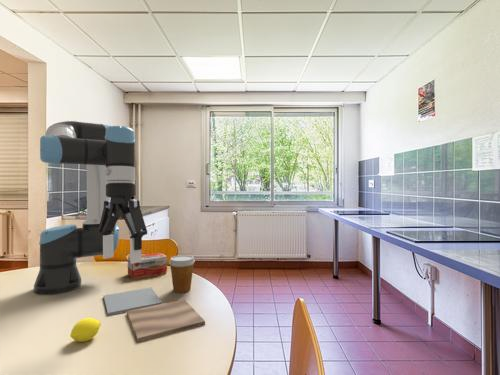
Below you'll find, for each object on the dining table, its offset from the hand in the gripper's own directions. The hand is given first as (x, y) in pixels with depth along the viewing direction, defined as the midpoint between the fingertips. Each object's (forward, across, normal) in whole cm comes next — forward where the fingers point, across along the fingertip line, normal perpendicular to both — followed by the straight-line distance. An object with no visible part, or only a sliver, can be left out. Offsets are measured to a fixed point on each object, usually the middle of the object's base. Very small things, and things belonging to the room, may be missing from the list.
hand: (121, 260), depth 79 cm
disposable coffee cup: (+18, -10, +30) cm, 36 cm away
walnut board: (+19, +4, +11) cm, 22 cm away
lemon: (+19, -3, -8) cm, 21 cm away
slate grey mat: (+18, -16, +13) cm, 27 cm away
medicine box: (+16, -38, +34) cm, 53 cm away
